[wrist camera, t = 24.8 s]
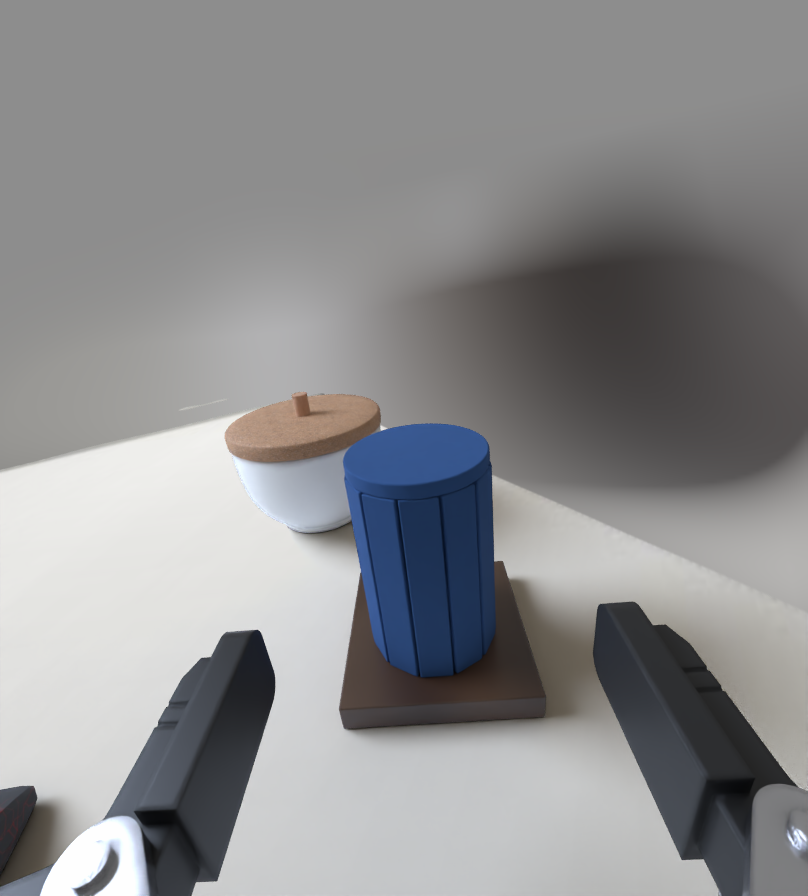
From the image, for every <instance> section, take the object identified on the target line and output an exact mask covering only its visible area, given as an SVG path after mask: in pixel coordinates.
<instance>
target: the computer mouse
mask: <svg viewBox="0 0 808 896" xmlns="http://www.w3.org/2000/svg"><path fill="white" fill-rule="evenodd" d="M36 801H37V795H36V792H35V788H34V786H19V787H14V788H8V789H2V790H0V874H1V872H2V870H3V868H4V866H5V865H6V863H7V861H8V859H9V857H10V855H11V853H12V851H13V849H14V847H15V845H16V843H17V841H18V839H19V837H20V835H21V833H22V831H23V829H24V827H25V825H26V823H27V820H28V818H29V816H30V814H31V812H32V810H33V808H34V806H35V804H36Z"/></svg>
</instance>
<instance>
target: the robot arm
mask: <svg viewBox="0 0 808 896" xmlns="http://www.w3.org/2000/svg"><path fill="white" fill-rule="evenodd" d="M593 656H594V663H595V668H596V671H597V674H598V677H599V680H600V682H601V684H602V687H603V689H604V691H605V693H606V695H607V697H608V700H609V702H610V704H611V706H612V708H613V710H614V713H615V715H616V717H617V719H618V721H619V724H620V726H621V728H622V730H623V732H624V734H625V737H626V739H627V741H628V743H629V745H630V748H631V750H632V752H633V754H634V756H635V758H636V761H637V763H638V765H639V767H640V769H641V772H642V774H643V776H644V778H645V780H646V782H647V785H648V787H649V789H650V791H651V793H652V796H653V798H654V800H655V802H656V804H657V806H658V809H659V811H660V813H661V815H662V817H663V819H664V822H665V824H666V826H667V828H668V830H669V833H670V835H671V837H672V839H673V841H674V843H675V846H676V848H677V850H678V852H679V854H680V857H681V859H682V860H693V859H704V860H705V863H706V865H707V867H708V869H709V871H710V873H711V875H712V877H713V879H714V881H715V883H716V885H717V887H718V889H719V893H718V896H808V791H806V790H803V789H801V788H799V787H798V786H797V785H796V784H795V783H794V782H793V781H792V780H791V779H790V778H789V776H788V775H787V774H786V773H785V772H784V770H783V769H782V768H781V766H780V765H779V764H778V762H777V761H776V759H775V758H774V757H773V755H772V754H771V753H770V751H769V750H768V749H767V747H766V746H765V745H764V743H763V742H762V741H761V739H760V738H759V737H758V735H757V734H756V732H755V731H754V730H753V728H752V727H751V726H750V724H749V723H748V722H747V720H746V719H745V718H744V716H743V715H742V714H741V712H740V711H739V710H738V708H737V707H736V705H735V704H734V703H733V701H732V700H731V699H730V697H729V696H728V695H727V693H726V692H725V691H722V689H721V685H720V684H719V683H718V681H717V680H716V678H715V677H714V676H713V674H712V673H711V672H710V671H708V670H707V666H706V665H705V664H704V662H703V661H702V660H701V658H700V657H699V656H698V654H697V653H696V652H695V650H694V649H693V647H692V646H691V645H690V643H688V642H687V641H686V640H685V639H683V638H682V637H681V636H679V635H678V634H677V633H676V632H674V631H673V630H672V629H670V628H669V627H668V626H667V625H652V624H651V622H650V621H649V619H648V618H647V616H646V615H645V613H644V612H643V610H642V609H641V608H640V606H639V605H638V604H637V603H635V602H621V603H607V604H600V605H599V606H598V609H597V618H596V628H595V638H594V647H593ZM274 695H275V674H274V670H273V667H272V664H271V661H270V658H269V655H268V652H267V649H266V646H265V643H264V640H263V637H262V634H261V632H260V631H259V630H249V631H236V632H226V633H225V634H224V635H223V636H222V637H221V639H220V641H219V643H218V645H217V646H216V648H215V650H214V652H213V654H212V656H211V657H208V658H201V659H200V660H199V661H198V662H197V663H196V664H195V665H194V666H193V667H192V668H191V670H190V671H189V672H188V673H187V674H186V675H185V676H184V677H183V678H182V679H181V681H180V683H179V685H178V687H177V688H176V690H175V692H174V694H173V696H172V698H171V699H170V701H169V706H168V707H166V708H165V710H164V712H163V714H162V716H161V718H160V719H159V721H158V726H157V727H155V728H154V730H153V732H152V734H151V736H150V738H149V739H148V741H147V743H146V745H145V747H144V748H143V750H142V752H141V754H140V756H139V758H138V759H137V761H136V763H135V765H134V767H133V768H132V770H131V772H130V774H129V776H128V778H127V779H126V781H125V783H124V785H123V787H122V788H121V790H120V792H119V794H118V796H117V798H116V799H115V801H114V803H113V805H112V807H111V808H110V810H109V812H108V813H107V815H106V816H105V818H104V819H103V820H102V821H101V822H99V823H97V824H96V825H94V826H92V827H91V828H89V829H88V830H87V831H85V832H84V833H83V834H82V835H80V836H79V837H78V838H77V839H76V840H75V841H74V842H73V843H72V844H71V845H70V846H69V847H68V848H67V849H66V850H65V852H64V853H63V854H62V855H61V857H60V858H59V859H58V861H57V862H56V863H54V864H52V865H50V866H48V867H46V868H44V869H42V870H39V871H37V872H35V873H32V874H30V875H27V876H25V877H23V878H20V879H18V880H16V881H13V882H11V883H8V884H6V885H4V886H1V887H0V896H191V895H192V892H193V889H194V886H195V883H196V882H210V881H217V880H218V877H219V874H220V870H221V867H222V864H223V861H224V858H225V854H226V851H227V848H228V845H229V842H230V838H231V835H232V832H233V829H234V826H235V822H236V819H237V816H238V813H239V809H240V806H241V803H242V800H243V797H244V793H245V790H246V787H247V784H248V781H249V777H250V774H251V771H252V768H253V765H254V761H255V758H256V755H257V752H258V749H259V745H260V742H261V739H262V736H263V732H264V729H265V726H266V723H267V720H268V716H269V713H270V710H271V707H272V704H273V700H274Z"/></svg>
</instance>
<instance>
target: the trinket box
mask: <svg viewBox="0 0 808 896" xmlns="http://www.w3.org/2000/svg"><path fill="white" fill-rule="evenodd" d="M380 422H381V415H380V408H379V406H378V405H377V403H375V402H374V401H373V400H371V399H369V398H365V397H362V396H356V395H345V394H331V395H317V396H309V397H307V393H306V392H298V393H294V394H292V400H287V401H284V402H279V403H276V404H272V405H269V406H266V407H263V408H260V409H258V410H255V411H253V412H251V413H248V414H246V415H244V416H243V417H241V418H239V419H238V420H236V421H235V422H233V423H232V424H231V425H230V426H229V427H228V429H227V430H226V432H225V441H226V444H227V447H228V449H229V451H230V452H231V454H232V457H233V461H234V464H235V467H236V469H237V472H238V475H239V477H240V479H241V481H242V483H243V486H244V488H245V490H246V491H247V493H248V495H249V496H250V498H251V500H252V501H253V502H254V503H255V504H256V505H257V506H258V507H259V509H260V510H261V511H263V512H264V513H265V514H266V515H268V516H269V517H271V518H273V519H274V520H276V521H278V522H281V523H283V524H286V525H287V526H288V527H289V528H290V529H292V530H295V531H298V532H303V533H317V532H324V531H329V530H332V529H335V528H338V527H340V526H343V525H345V524H347V523H348V522H350V521H351V520H352V519H351V514H350V509H349V503H348V498H347V492H346V487H345V482H344V477H345V472H344V466H343V458H344V455H345V453H346V452H347V450H348V449H349V448H350V447H351V446H352V445H353V444H355V443H356V442H358V441H359V440H361V439H363V438H365V437H367V436H369V435H371V434H374V433H377V432H380V431H381V427H380Z"/></svg>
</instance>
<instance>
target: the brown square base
mask: <svg viewBox="0 0 808 896" xmlns="http://www.w3.org/2000/svg"><path fill="white" fill-rule="evenodd" d="M494 576H495V614H496V629H495V635H494V637H493V639H492V641H491V644H490V646H489V648H488V650H487V652H486V654H485V655H482V659H480V660H479V661H477V662H476V663H474V664H472V665H471V666H469V667H468V668H466V669H464V670H463V671H461V672H459V673H456V672H455V670H454V669H453V670H454V674H453V675H452V676H437V677H421V675H420V673H419V675H418V676H417V677H416V676H414V675H412V674H410V673H408V672H405V671H403V670H401V669H399V668H396V667H394V666H392V665H390V661H389V662H387V661H386V659H385V658H384V656H383V654H382V653H381V651H380V650H379V648H378V647H377V645H376V643H375V642H374V637H373V633H372V627H371V622H370V616H369V611H368V606H367V600H366V595H365V589H364V584H363V579H362V573H360V578H359V585H358V591H357V597H356V604H355V610H354V617H353V623H352V629H351V636H350V642H349V648H348V655H347V661H346V667H345V674H344V680H343V687H342V693H341V699H340V706H339V711H340V715H341V719H342V723H343V727H344V728H345V729H346V728H363V727H380V726H397V725H414V724H431V723H447V722H464V721H481V720H498V719H515V718H532V717H544V716H545V704H546V695H545V692H544V689H543V686H542V683H541V680H540V676H539V673H538V670H537V667H536V664H535V661H534V658H533V654H532V651H531V648H530V645H529V642H528V639H527V636H526V632H525V629H524V626H523V623H522V620H521V617H520V614H519V610H518V607H517V604H516V601H515V598H514V595H513V592H512V588H511V585H510V582H509V579H508V576H507V573H506V570H505V566H504V563H503V561H496V562H494Z"/></svg>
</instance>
